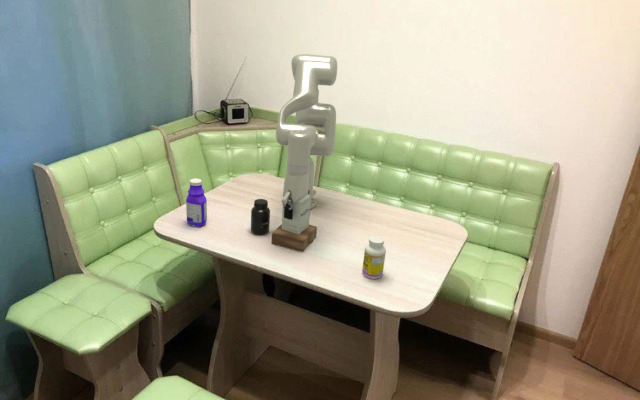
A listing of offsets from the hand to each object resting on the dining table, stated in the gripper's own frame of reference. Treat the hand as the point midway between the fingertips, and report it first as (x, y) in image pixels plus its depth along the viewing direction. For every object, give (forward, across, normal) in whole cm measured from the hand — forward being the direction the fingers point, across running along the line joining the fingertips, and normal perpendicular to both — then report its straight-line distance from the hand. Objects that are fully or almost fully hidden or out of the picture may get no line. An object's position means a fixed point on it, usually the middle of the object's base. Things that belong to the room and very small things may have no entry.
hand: (295, 213), depth 171 cm
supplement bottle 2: (+11, +4, +32) cm, 34 cm away
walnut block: (+11, 0, 0) cm, 11 cm away
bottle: (+11, +10, -36) cm, 39 cm away
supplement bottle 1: (+11, +1, -14) cm, 18 cm away
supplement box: (+6, -1, 0) cm, 7 cm away
